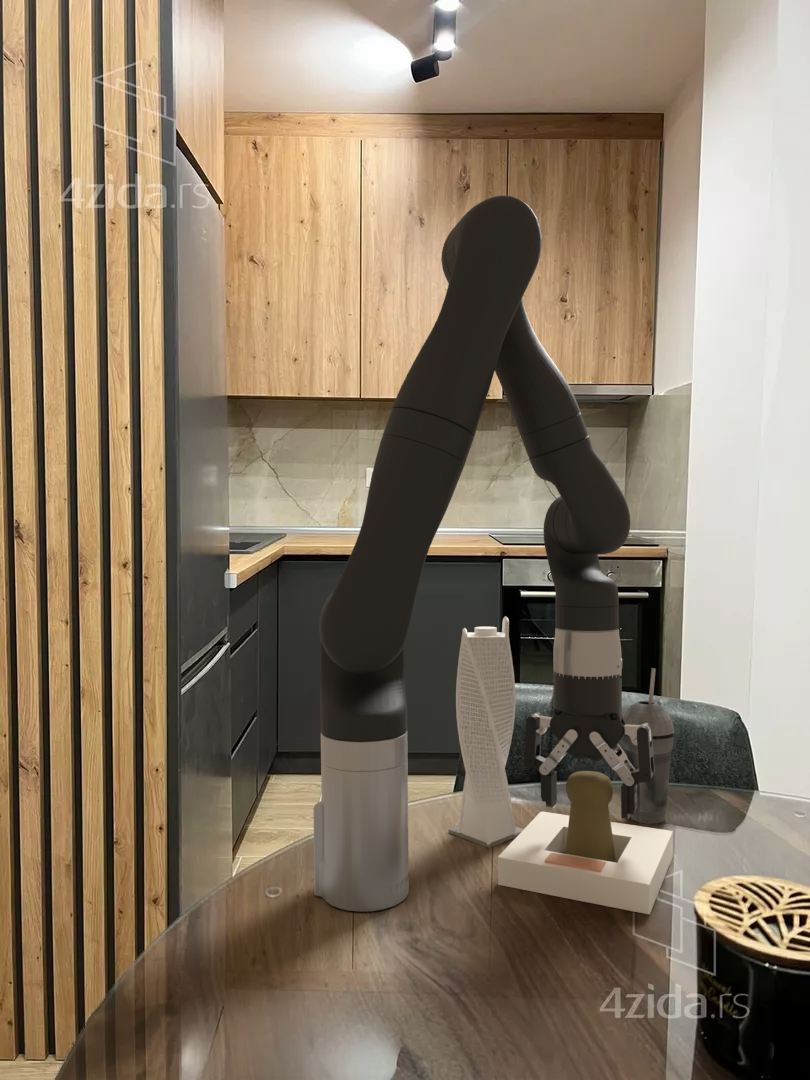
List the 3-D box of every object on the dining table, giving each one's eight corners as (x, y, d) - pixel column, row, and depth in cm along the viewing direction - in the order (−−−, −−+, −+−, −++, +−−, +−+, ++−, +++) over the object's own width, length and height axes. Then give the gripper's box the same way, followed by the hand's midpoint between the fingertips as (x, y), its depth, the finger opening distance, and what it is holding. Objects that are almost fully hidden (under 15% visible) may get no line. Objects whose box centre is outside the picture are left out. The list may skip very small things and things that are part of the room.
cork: (618, 884, 86) (617, 783, 86) (562, 879, 88) (561, 779, 88) (616, 862, 92) (615, 767, 92) (563, 857, 94) (562, 764, 94)
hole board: (497, 884, 87) (497, 855, 87) (541, 834, 101) (541, 809, 101) (649, 914, 79) (649, 882, 79) (673, 856, 94) (672, 829, 94)
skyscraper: (534, 836, 100) (532, 614, 100) (492, 853, 95) (489, 619, 95) (485, 819, 107) (483, 610, 107) (442, 834, 101) (440, 614, 101)
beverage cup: (608, 812, 109) (607, 666, 109) (654, 806, 111) (653, 663, 111) (639, 830, 102) (638, 674, 102) (687, 823, 104) (686, 671, 104)
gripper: (516, 669, 90) (517, 812, 90) (646, 678, 84) (647, 832, 84) (536, 659, 97) (537, 793, 97) (657, 667, 90) (658, 810, 90)
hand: (588, 811), depth 90 cm, fingers open, 8 cm apart
